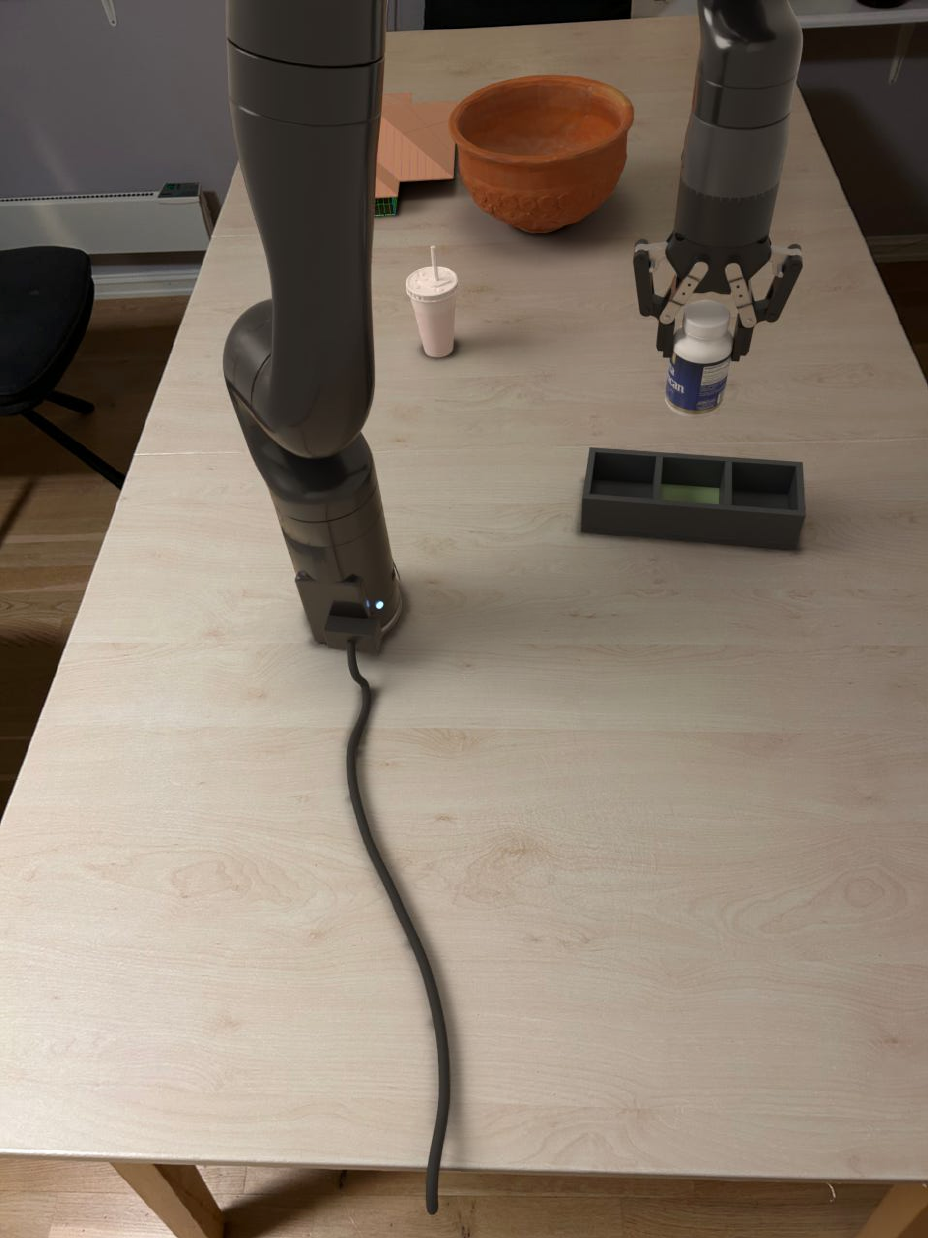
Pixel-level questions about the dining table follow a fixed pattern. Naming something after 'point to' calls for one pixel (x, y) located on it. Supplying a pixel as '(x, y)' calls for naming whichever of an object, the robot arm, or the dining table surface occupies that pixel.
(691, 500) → the rack
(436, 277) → the smoothie
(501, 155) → the bowl
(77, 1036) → the dining table surface
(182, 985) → the dining table surface
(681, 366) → the pill bottle
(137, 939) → the dining table surface
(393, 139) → the house
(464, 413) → the dining table surface
